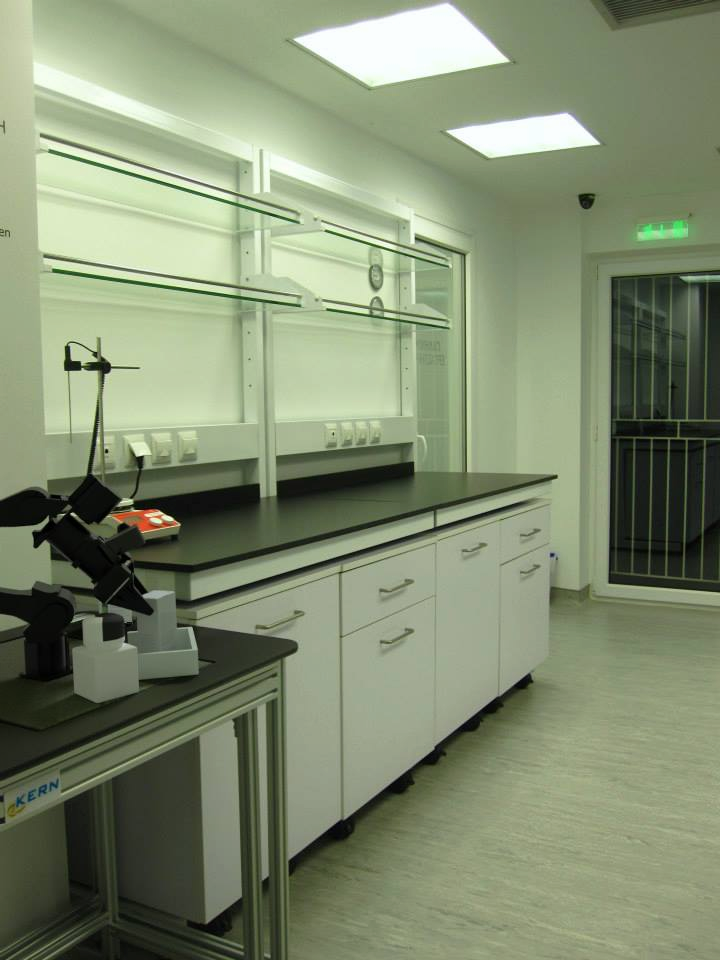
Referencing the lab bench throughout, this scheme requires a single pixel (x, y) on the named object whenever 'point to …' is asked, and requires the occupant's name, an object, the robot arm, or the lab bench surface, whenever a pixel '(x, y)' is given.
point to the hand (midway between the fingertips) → (151, 607)
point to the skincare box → (158, 623)
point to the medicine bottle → (105, 660)
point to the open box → (168, 657)
